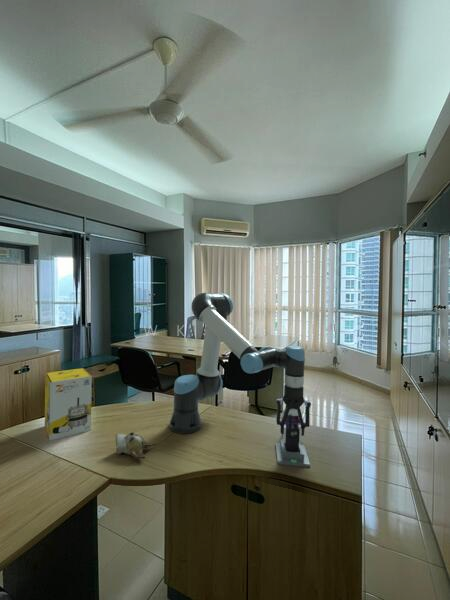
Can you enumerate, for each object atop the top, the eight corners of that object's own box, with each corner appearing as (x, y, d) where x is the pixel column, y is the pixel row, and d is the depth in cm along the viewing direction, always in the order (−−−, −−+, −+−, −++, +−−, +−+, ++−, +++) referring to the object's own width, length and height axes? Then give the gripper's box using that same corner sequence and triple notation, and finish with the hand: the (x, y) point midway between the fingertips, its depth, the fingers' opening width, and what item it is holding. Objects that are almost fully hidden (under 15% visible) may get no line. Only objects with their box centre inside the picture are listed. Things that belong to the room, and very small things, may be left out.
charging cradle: (277, 464, 109) (278, 455, 108) (275, 444, 122) (275, 436, 122) (310, 467, 107) (310, 457, 107) (303, 447, 121) (304, 439, 121)
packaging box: (49, 440, 120) (50, 382, 120) (44, 426, 133) (45, 373, 132) (91, 430, 131) (91, 376, 130) (82, 417, 143) (83, 368, 143)
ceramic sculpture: (123, 423, 119) (157, 429, 117) (122, 443, 120) (155, 450, 117) (108, 436, 109) (145, 443, 106) (107, 458, 109) (143, 466, 107)
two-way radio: (287, 454, 112) (288, 416, 112) (282, 447, 116) (283, 411, 116) (300, 452, 113) (301, 415, 113) (295, 446, 118) (296, 410, 117)
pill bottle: (300, 440, 127) (302, 408, 126) (282, 438, 128) (283, 406, 128) (299, 431, 135) (300, 401, 134) (282, 429, 136) (283, 399, 136)
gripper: (271, 386, 111) (269, 445, 112) (319, 389, 109) (317, 449, 110) (270, 380, 119) (268, 435, 119) (315, 383, 117) (313, 439, 117)
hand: (291, 442), depth 115 cm, fingers closed on two-way radio, 5 cm apart
